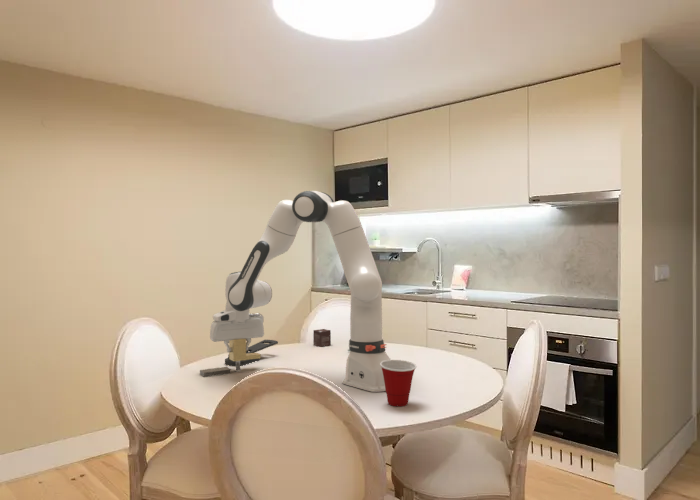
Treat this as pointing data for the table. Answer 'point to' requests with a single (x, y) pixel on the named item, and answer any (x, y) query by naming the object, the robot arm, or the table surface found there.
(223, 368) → the fixed leaf
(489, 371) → the table surface
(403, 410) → the table surface
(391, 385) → the plastic cup
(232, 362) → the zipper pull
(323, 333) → the box
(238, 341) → the tan l-shaped bracket
